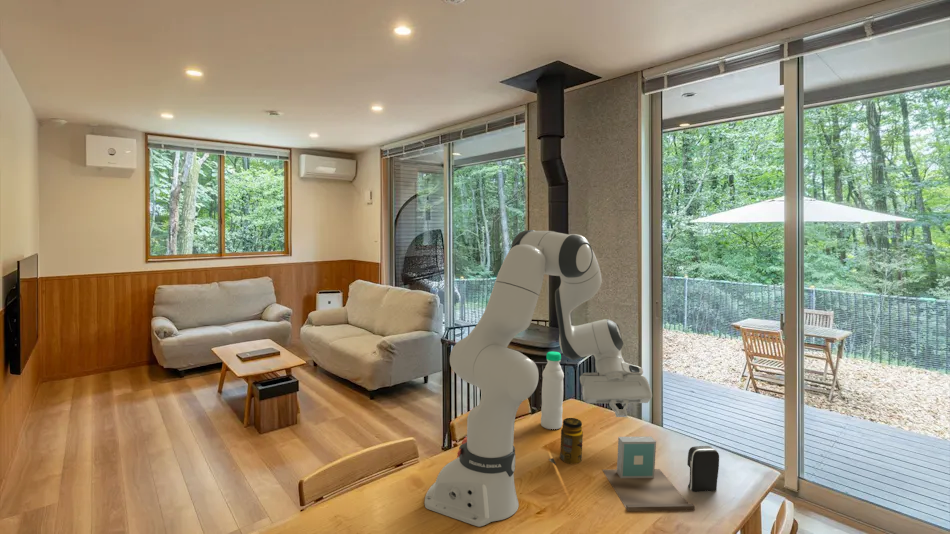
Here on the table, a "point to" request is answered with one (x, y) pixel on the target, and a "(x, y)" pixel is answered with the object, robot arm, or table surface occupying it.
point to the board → (648, 493)
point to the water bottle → (552, 392)
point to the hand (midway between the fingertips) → (621, 416)
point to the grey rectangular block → (636, 457)
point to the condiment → (571, 441)
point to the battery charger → (703, 468)
